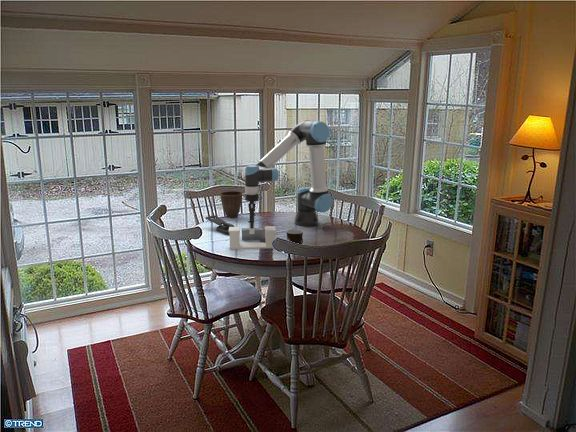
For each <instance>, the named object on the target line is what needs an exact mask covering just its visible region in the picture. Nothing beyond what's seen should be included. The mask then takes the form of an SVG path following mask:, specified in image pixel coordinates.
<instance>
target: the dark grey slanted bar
mask: <svg viewBox="0 0 576 432" xmlns="http://www.w3.org/2000/svg"><path fill="white" fill-rule="evenodd" d="M205 220H208V221H210V222H211V223H212V224H213V223H214V224H215V225H217V226H216V228H215V231H216V232H218V233H220V234H222V235H225V236H230V233H229V227H235V225H234V224H232V223H230V222H229V223H228V222H227V221H225V220H224V219H222V218H220V216H218V215H215V214H213V215H207V216H205Z"/></svg>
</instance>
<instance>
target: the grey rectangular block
mask: <svg viewBox="0 0 576 432" xmlns="http://www.w3.org/2000/svg"><path fill="white" fill-rule="evenodd" d="M241 241H264V228H263V227H254V234H249V227H248V228H247V227H245V228H244V227H242V228H241Z"/></svg>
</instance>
